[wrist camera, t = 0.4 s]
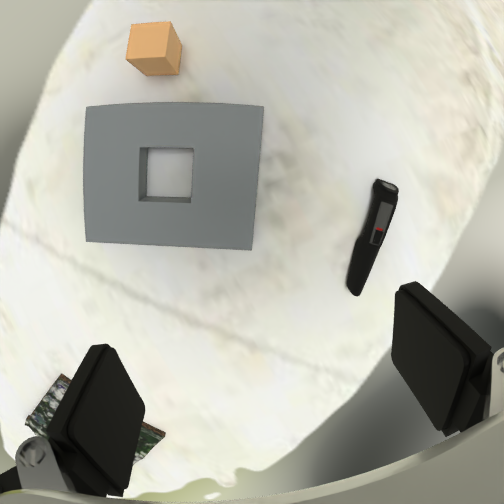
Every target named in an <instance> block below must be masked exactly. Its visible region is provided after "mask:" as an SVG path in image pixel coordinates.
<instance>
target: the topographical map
mask: <svg viewBox="0 0 504 504" xmlns="http://www.w3.org/2000/svg"><path fill="white" fill-rule="evenodd" d="M71 381H72V380H70V379H69V378H67V377H66V376H65V375H63V374H62V373H61V375H60V376H59V377H58V379H57V380H56V381H55V383H54V384H53V385H52V387H51V388H50V389H49V391H48V392H47V393H46V395H45V396H44V397H43V399H42V400H41V402H40V403H39V404H38V406H37V407H36V408H35V410H34V411H33V413H32V414H31V416H29V415H28V417H27V419H26V422H25V425H27V426H29V427H30V428H31V429H32V431H33V432H34V434H35V435H37V436H40V437H44V438H45V439H47V440H48V439H49V437H50V436H49V435H48V434H47V432H46V429H47V427H48V425H49V423H50V421H51V419H52V417H53V415H54V413H55V411H56V409H57V407H58V405H59V403H60V401H61V399H62V397H63V396H64V394H65V392H66V390H67V388H68V386H69V384H70V382H71ZM165 433H166V432H164V431H161V430H159V429H157V428H155V427H153V426H151V425H149V424H147V423H145V422H143V423H142V427H141V431H140V435H139V440H138V444H137V448H136V453H135V457H134V462H133V465H134V464H135V463H136V462H137V461H139V460H141V459H143V458H144V457H145V456H146V455H147V454H148V453H149V451H150V450H151V449H152V448H153V447H154V446H155V445H156V444H157V443H158V442H159V441H161V440H162V439H163V438H164V437H165Z"/></svg>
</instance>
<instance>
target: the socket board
mask: <svg viewBox="0 0 504 504" xmlns="http://www.w3.org/2000/svg"><path fill="white" fill-rule="evenodd" d="M263 112H264V107H263V106H253V105H240V104H224V103H199V102H153V103H128V104H113V105H100V106H90V107H86V117H85V132H84V157H83V194H84V220H85V235H86V242H100V243H120V244H139V245H158V246H178V247H197V248H216V249H235V250H252V242H253V230H254V219H255V207H256V195H257V183H258V171H259V159H260V148H261V136H262V124H263ZM148 147H170V148H194V155H193V172H192V192H191V198H180V197H149V196H146V182H147V154H148Z"/></svg>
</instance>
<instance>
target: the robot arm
mask: <svg viewBox="0 0 504 504" xmlns="http://www.w3.org/2000/svg"><path fill="white" fill-rule="evenodd" d="M490 350H491V346H490V345H489V344H487V343H486V342H485V341H484V340H483V339H482V338H481V337H480V336H479V335H478V334H477V333H476V332H475V331H474V330H472V329H471V328H470V327H469V326H468V325H467V324H466V323H465V322H464V321H462V320H461V319H460V318H459V317H458V316H457V315H456V314H454V313H453V312H452V311H451V310H450V309H449V308H448V307H446V305H444V304H443V303H442V302H441V301H440V300H439V299H437V298H436V297H435V296H434V295H433V294H431V293H430V292H429V291H428V290H427V289H426V288H424V287H423V286H422V285H421V284H420V283H418V282H416V281H415V282H411V283H408V284H404V285H401V286H400V288H399V291H396V293H395V308H394V326H393V340H392V352H391V357H392V361H393V364H394V365H395V367H396V368H397V370H398V371H399V373H400V374H401V376H402V377H403V379H404V380H405V382H406V383H407V385H408V386H409V387H410V389H411V391H412V392H413V394H414V395H415V397H416V398H417V400H418V401H419V403H420V405H421V406H422V408H423V409H424V411H425V412H426V414H427V416H428V417H429V418H430V420H431V422H432V423H433V425H434V427H435V428H436V429H437V430H438V431H440V430H442V432H443V433H444V435H445V437H447V436H449V435H451V434H453V433H455V432H457V431H458V430H459V431H460V432H461V433H459V434H458V435H456V436H453V437H451V438H449V439H448V440H445V441H443V442H441V443H439V444H437V445H435V446H432V447H430V448H428V449H426V450H424V451H421V452H419V453H417V454H414V455H412V456H410V457H407V458H405V459H402V460H400V461H397V462H395V463H392V464H389V465H387V466H384V467H381V468H378V469H375V470H372V471H370V472H366V473H363V474H360V475H357V476H354V477H351V478H347V479H343V480H340V481H336V482H332V483H329V484H325V485H320V486H316V487H312V488H308V489H303V490H298V491H293V492H288V493H282V494H276V495H270V496H262V497H255V498H247V499H238V500H225V501H211V502H210V501H209V502H151V501H136V500H125V499H115V498H106V496H107V494H108V495H111V496H119V497H123V493H124V489H127V488H128V485H129V481H130V476H131V471H132V466H133V462H134V457H135V453H136V448H137V444H138V440H139V435H140V431H141V427H142V423H143V419H144V414H145V405H144V402H143V400H142V399H141V397H140V395H139V393H138V392H137V390H136V388H135V386H134V385H133V383H132V381H131V379H130V377H129V375H128V373H127V372H126V370H125V368H124V366H123V364H122V362H121V360H120V358H119V356H118V354H117V352H116V350H115V349H114V348H112V347H110V346H109V345H108V344H99V345H92V346H91V347H90V349H89V350H88V352H87V354H86V356H85V357H84V359H83V361H82V363H81V364H80V366H79V368H78V370H77V371H76V373H75V375H74V377H73V379H72V381H71V382H70V384H69V386H68V388H67V390H66V392H65V394H64V396H63V397H62V399H61V401H60V403H59V405H58V407H57V409H56V411H55V413H54V415H53V417H52V419H51V421H50V423H49V425H48V427H47V429H46V432H47V434H48V435H49V436H50V437H49V439H48V440H47V439H45V438H44V437H40V436H35V437H31V438H28V439H27V440H25V441H24V442H23V443H22V444H21V445H20V446H19V448H18V450H17V452H16V456H15V461H16V466H15V467H13V468H11V469H10V470H8V471H6V472H4V473H2V474H0V504H504V348H502V349H500V350H499V351H497V352H496V353H495V355H494V354H493V353H492V352H491V351H490Z"/></svg>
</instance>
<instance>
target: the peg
mask: <svg viewBox="0 0 504 504" xmlns="http://www.w3.org/2000/svg"><path fill="white" fill-rule="evenodd" d="M181 49H182V44H181V42H180V40H179V38H178V36H177V34H176V32H175V30H174V28H173V25H172V23H171V21H170V22H153V23H141V24H131V29H130V35H129V41H128V47H127V53H126V60H127V61H128V62H129V63H131V64H132V65H133V66H134V67H136V68H137V69H138V70H139V71H141V72H142V73H143V74H144V75H146V76H155V75H178V74H179V65H180V57H181Z"/></svg>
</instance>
